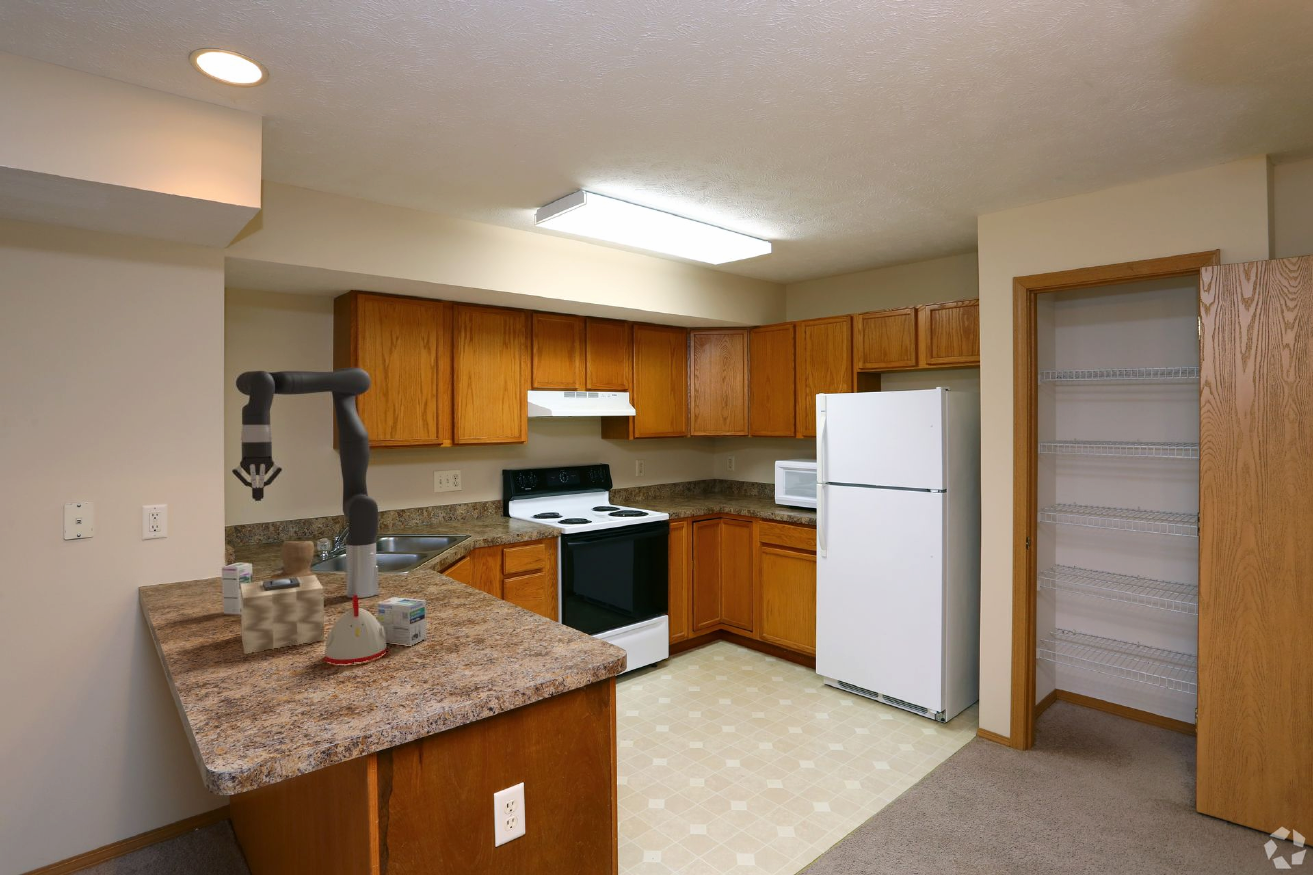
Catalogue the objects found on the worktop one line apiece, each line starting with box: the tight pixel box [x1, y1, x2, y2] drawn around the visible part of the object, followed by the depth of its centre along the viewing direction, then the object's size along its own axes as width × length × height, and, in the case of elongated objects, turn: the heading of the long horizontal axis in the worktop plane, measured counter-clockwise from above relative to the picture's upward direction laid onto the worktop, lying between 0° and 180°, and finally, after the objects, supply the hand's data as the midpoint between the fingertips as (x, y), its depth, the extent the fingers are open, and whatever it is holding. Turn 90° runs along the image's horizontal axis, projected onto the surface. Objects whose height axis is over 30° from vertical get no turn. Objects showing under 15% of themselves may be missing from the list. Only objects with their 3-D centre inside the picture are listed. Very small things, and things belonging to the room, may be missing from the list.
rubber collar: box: [262, 577, 300, 591], centre depth 181 cm, size 8×8×1 cm
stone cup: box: [269, 540, 318, 580], centre depth 244 cm, size 15×12×15 cm
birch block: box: [240, 575, 325, 655], centre depth 181 cm, size 18×18×14 cm
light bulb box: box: [376, 596, 427, 645], centre depth 178 cm, size 11×7×11 cm, turn 71°
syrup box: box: [221, 562, 254, 616], centre depth 206 cm, size 6×6×14 cm
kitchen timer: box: [324, 595, 388, 664], centre depth 167 cm, size 14×14×15 cm
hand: (257, 500), depth 195 cm, fingers closed
